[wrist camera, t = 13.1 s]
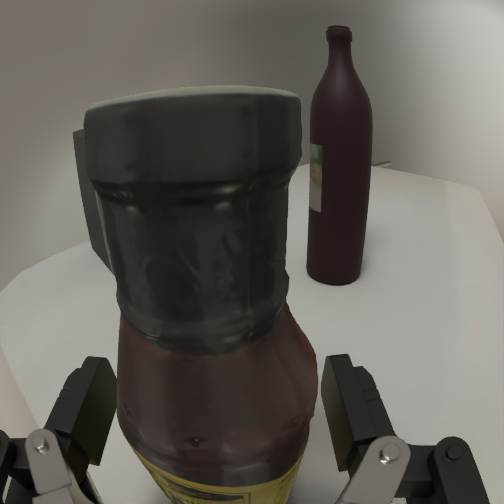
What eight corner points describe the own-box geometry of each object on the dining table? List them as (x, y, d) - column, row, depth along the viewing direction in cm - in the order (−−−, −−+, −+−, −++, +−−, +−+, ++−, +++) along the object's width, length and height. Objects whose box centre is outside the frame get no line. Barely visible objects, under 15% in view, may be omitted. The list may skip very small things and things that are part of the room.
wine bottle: (327, 254, 43) (331, 38, 31) (369, 271, 39) (380, 33, 26) (294, 271, 39) (293, 25, 27) (339, 293, 34) (348, 16, 22)
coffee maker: (203, 259, 43) (191, 112, 35) (126, 289, 36) (97, 124, 28) (151, 228, 56) (138, 120, 47) (92, 248, 49) (72, 132, 40)
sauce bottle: (163, 495, 14) (7, 134, 5) (234, 444, 18) (198, 103, 9) (238, 563, 10) (37, 64, 1) (311, 497, 14) (395, 97, 5)
